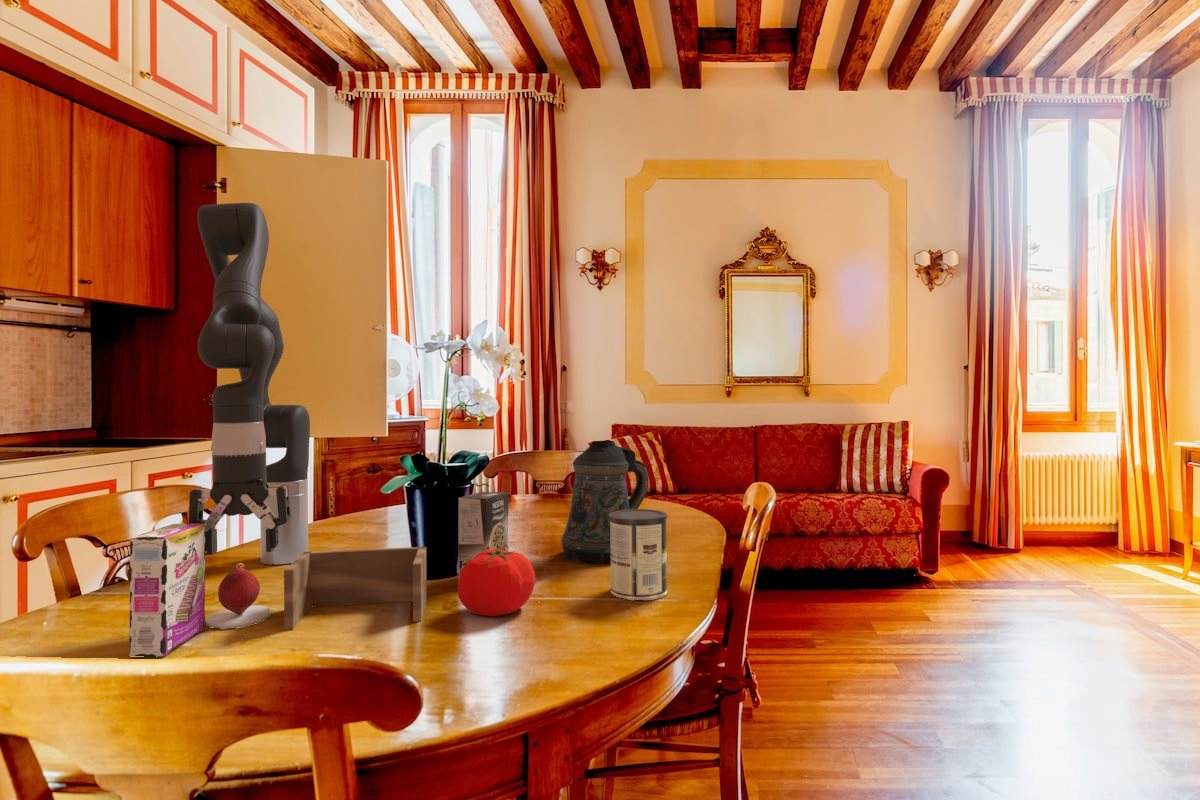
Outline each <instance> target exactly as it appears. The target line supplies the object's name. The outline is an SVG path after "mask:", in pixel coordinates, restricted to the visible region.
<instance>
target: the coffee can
mask: <svg viewBox="0 0 1200 800" xmlns="http://www.w3.org/2000/svg"><path fill="white" fill-rule="evenodd" d="M609 517H610V548H611V564H610V591H609V593H610V594H611V595H612V594H613V595H614V596H613V595H612V596H613V597H615V596H616V598H618V597H619V598H618V599H621V598H623V599H622V600H626V599H627V600H628V601H635V600H644V601H653V600H657V599H661V598H663V597H665V596H667V594H668V584H667V583H668V581H667V580H668V578H667V577H668V576H667V575H668V574H667V573H668V571H667V568H668V567H667V566H668V564H667V562H668V560H667V519H668V513H666V512H664V511H661V510H656V509H648V508H638V509H627V510H619V511H614V512H612V513H610V514H609Z"/></svg>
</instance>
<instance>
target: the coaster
mask: <svg viewBox="0 0 1200 800" xmlns="http://www.w3.org/2000/svg"><path fill="white" fill-rule="evenodd" d="M205 617H206V618H205V626H206V625H207V626H209V627H214V628H235V629H238V628H237V627H242V628H244V627H243V626H247V627H249V626H248V625H251V626H253V625H252V624H255V623H258V624H260V623H259V622H261V621H263V620H265V619H267V618H268V619H270V617H271V608H270V607H268V606H265V605H259V604H258V605H257V604H256V605H255V604H252V605H251V606H249V607H248V608H247V609H246V610H245V611H244V612H243V613H242V614H236V613H234V612H232V611H230V610H228V609H226V608H224V609H219V610H217V611H214V612H212V613H210V614H208V615H207V616H205ZM268 619H267V620H268ZM265 621H266V620H265ZM263 622H264V621H263ZM261 623H262V622H261ZM255 625H256V624H255ZM207 626H206V627H207ZM209 627H208V628H209Z"/></svg>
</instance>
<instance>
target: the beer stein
mask: <svg viewBox="0 0 1200 800" xmlns="http://www.w3.org/2000/svg"><path fill="white" fill-rule="evenodd" d="M572 468H573V470H574V473H575V474H574V484H573V490H572V494H571V502H570V509H569V514H568V519H567V522H566V526H565V530H564V533H563V534H562V537H561V546H562V551H563V557H564V558H565V560H567V559H568V560H567V561H569V560H570V562H572V561H573V563H575V562H576V563H575V564H583V563H586V564H587V565H611V564H610V563H611V548H610V517H609V514H610V513H612V512H614V511H619V510H627V509H640V506H641V505H642V502H643V501H644V499H645V497H646V494H647V493H648V490H649V489H648V488H649V483H650V481H649V479H650V477H649V474H648V473H649V472H648V471H647V467H646V464H645V463H643V462H641V461H640V460H638V459H637V460H636V452H635V451H633V450H632V449H630V448H628V447H625V446H618V445H616V443H615V441H614V440H594V441H593V440H592V441H591V444H590V445H589V446H588V447H587V448H586V449H585V450H584V451H583V452H581V453H580V454H579V455H578V456H577V457H576V458H575V459H574V460H573V462H572ZM627 473H634V474H635V476H636V477H635V478H636V483H635V487H634V490H633V491H632V494H631V495H630V496H629V494H628V492H629V491H628V485H627V482H626V481H627V480H626V476H627ZM586 564H585V565H586Z"/></svg>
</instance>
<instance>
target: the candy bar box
mask: <svg viewBox="0 0 1200 800" xmlns="http://www.w3.org/2000/svg"><path fill="white" fill-rule="evenodd" d="M205 525H206V524H205V523H189V522H188V523H187V522H183V523H180V522H179V523H171V524H169V525H167V526H163V527H160V528H157V529H154V530H151V531H148V532H144V533H142V534H139V535H135V536H133V537H130V538H129V546H130V547H129V629H128V630H129V633H128V634H129V640H128V641H129V644H128V645H129V649H128V651H129V653H128V657H129V656H144V657H129V658H132V659H133V658H136V659H137V658H141V659H143V658H144V659H145V658H146V659H147V658H148V659H149V658H163V657H166V656H168V655H169V654H170V653H172V652H174V651H175V650H176V649H178V648H179V647H180V646H179V645H181V644H182V643H183V644H185V643H186V642H188V641H189V640H191V639H192V638H194V637H195V636H196V635H195V634H197V633H198V634H199V632H200V631H201V630H203V629H204V628H205V626H206V618H205V617H206V616H205V613H206V612H205V611H206V610H205V609H206V608H205V606H206V603H205V602H206V599H205V598H206V595H205V594H206V592H205V591H206V582H205V581H206V552H205ZM204 630H205V629H204ZM204 630H203V631H204ZM201 632H202V631H201ZM201 632H200V633H201ZM198 634H197V635H198ZM194 635H195V636H194ZM193 636H194V637H193ZM191 637H192V638H191ZM190 638H191V639H190ZM188 639H189V640H188ZM187 640H188V641H187ZM185 641H186V642H185ZM184 642H185V643H184ZM183 644H182V645H183ZM182 645H181V646H182ZM178 646H179V647H178ZM177 647H178V648H177ZM175 648H176V649H175ZM174 649H175V650H174ZM171 651H172V652H171ZM169 652H170V653H169ZM168 653H169V654H168ZM165 655H166V656H165ZM156 656H157V657H156Z"/></svg>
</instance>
